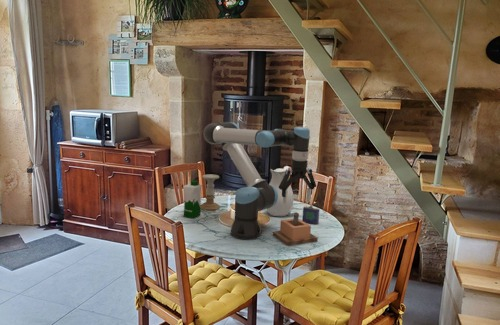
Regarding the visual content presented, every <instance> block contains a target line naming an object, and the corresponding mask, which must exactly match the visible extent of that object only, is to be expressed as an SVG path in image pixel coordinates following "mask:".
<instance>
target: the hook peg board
mask: <svg viewBox="0 0 500 325" xmlns="http://www.w3.org/2000/svg"><path fill="white" fill-rule="evenodd" d="M299 217H300V213H299V212H293V218H292V219H293V225H294V226H298V219H300V218H299ZM272 236H273V237H274V238H275V239H277V240H278V241H280V242H281V243H282V244H284V245H285V246H287V247H291V246H297V245H298V246H299V245H305V244H311V243H317V242H318V240H319V237H317V236H316V235H314V234H312V233H311V232H310V238H303V239H296V240H292V239H290V238H289V237H287V236H286V235H284V234H283V233H281V232H280V230H275V231H272Z"/></svg>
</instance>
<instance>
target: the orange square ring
mask: <svg viewBox="0 0 500 325" xmlns="http://www.w3.org/2000/svg"><path fill="white" fill-rule="evenodd" d="M311 228H312V226H311V224H308V223H305V222H303V221H302V219H300V218H299V219H298V226H294V225H293V218H289V219H281V220H280V228H279V231H280V232H281V233H283V234H284V235H286V236H287V237H289V238H290V239H292V240H296V239H303V238H310V233H311Z"/></svg>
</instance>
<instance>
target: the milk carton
mask: <svg viewBox="0 0 500 325" xmlns="http://www.w3.org/2000/svg"><path fill="white" fill-rule="evenodd" d="M182 187H183V193H184V196H183V198H184V200H183V204H184V206H183V218H188V219H195V220H196V218H198V217H201V211H202V209H201V204H202V203H201V201H202V199H201V198H202V185H201V184H199V181H198V180H191V181H190V183H188V184H185V185H184V186H182Z"/></svg>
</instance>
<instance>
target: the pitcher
mask: <svg viewBox="0 0 500 325" xmlns="http://www.w3.org/2000/svg"><path fill="white" fill-rule="evenodd" d="M286 170H291V167H290V166H288V165H285V166H284V167H283V168H276V169H274V170H273V169H272V168H270V170H269V171H270V172H271V179H270V182H269V183H268V185H271V186H273V187H275V189H276V190H277V193H278V198H277V202H276V204H275V205H274V206H272V207H270V208H268V209H266V211H267V212H268V213H269V215H271V216H273V217H274V216H275V217H286V216H288V214H289V213H290V211H291V209H292V207H293V204H294V193H293V189H292V186H291V185H292V184H291V185H290V186H289V187H288V189H287V191H288V195H287V204H284V203H283V197H282V190H281V189H279V185H280V183H281V181H282V179H283V177H284V175H285V171H286ZM289 178H290V177H289ZM289 178H288V179H289ZM287 181H288V180H287Z"/></svg>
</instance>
